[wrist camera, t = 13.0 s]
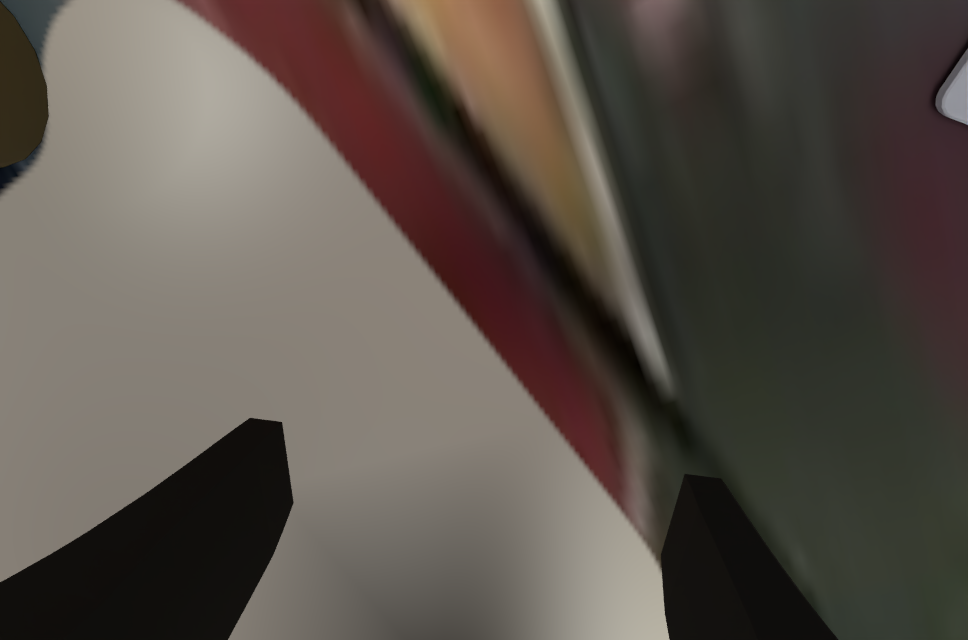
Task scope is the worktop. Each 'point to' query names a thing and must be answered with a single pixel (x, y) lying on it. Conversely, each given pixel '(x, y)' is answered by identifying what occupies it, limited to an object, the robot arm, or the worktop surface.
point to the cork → (19, 93)
